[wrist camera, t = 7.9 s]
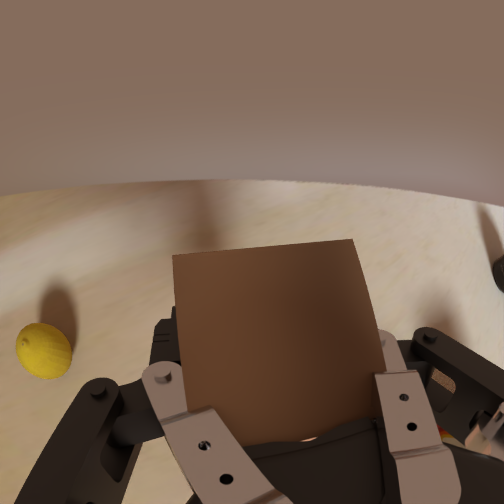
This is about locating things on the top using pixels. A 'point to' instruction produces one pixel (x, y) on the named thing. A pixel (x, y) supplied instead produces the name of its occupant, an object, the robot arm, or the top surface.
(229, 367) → the walnut block
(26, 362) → the lemon
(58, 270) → the top surface
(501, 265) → the supplement bottle
